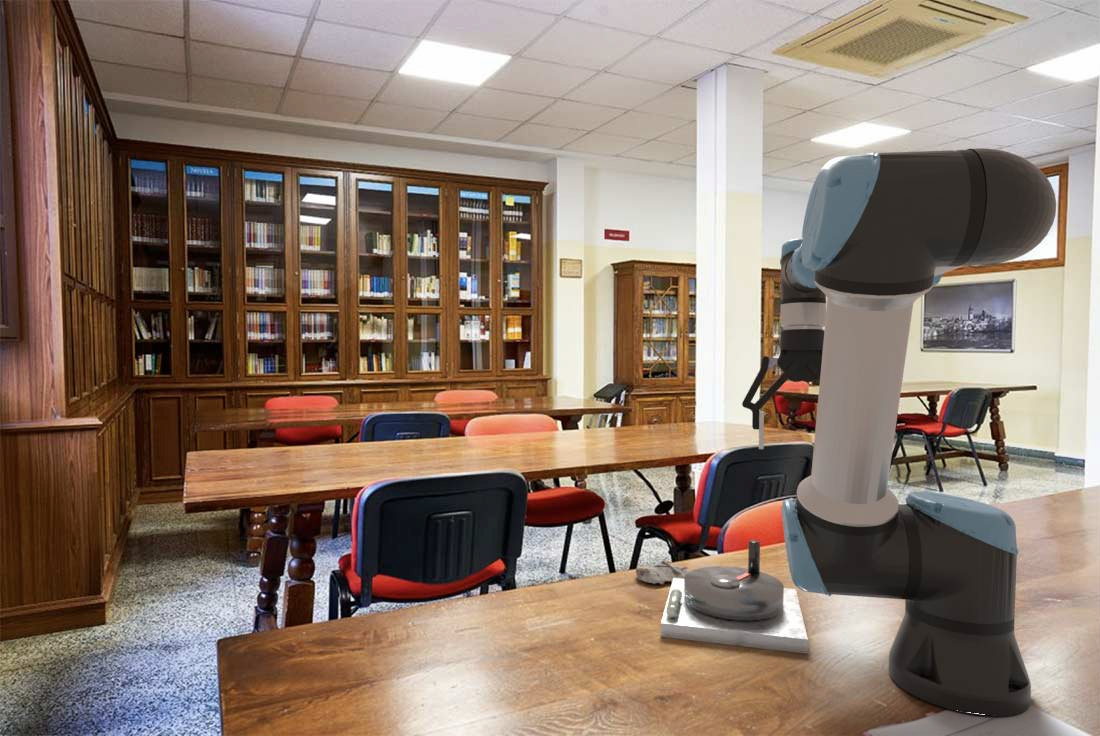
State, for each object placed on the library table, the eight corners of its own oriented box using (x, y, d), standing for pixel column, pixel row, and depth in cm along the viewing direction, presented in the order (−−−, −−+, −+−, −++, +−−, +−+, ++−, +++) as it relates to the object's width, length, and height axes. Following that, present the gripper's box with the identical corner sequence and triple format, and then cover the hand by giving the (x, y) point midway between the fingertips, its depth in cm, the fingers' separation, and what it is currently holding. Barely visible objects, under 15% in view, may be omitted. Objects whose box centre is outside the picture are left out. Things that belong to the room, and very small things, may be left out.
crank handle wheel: (786, 625, 97) (787, 569, 96) (680, 613, 101) (680, 560, 100) (780, 588, 111) (781, 540, 111) (687, 580, 115) (687, 533, 115)
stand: (807, 653, 93) (808, 626, 93) (660, 636, 98) (661, 610, 98) (795, 601, 112) (795, 578, 112) (673, 589, 117) (673, 567, 117)
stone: (671, 570, 128) (671, 556, 128) (696, 582, 122) (696, 567, 122) (629, 578, 124) (629, 563, 124) (653, 590, 117) (653, 575, 117)
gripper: (876, 329, 119) (875, 450, 119) (729, 330, 126) (728, 444, 126) (885, 327, 111) (883, 455, 112) (728, 328, 118) (727, 449, 119)
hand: (801, 450), depth 119 cm, fingers open, 13 cm apart
